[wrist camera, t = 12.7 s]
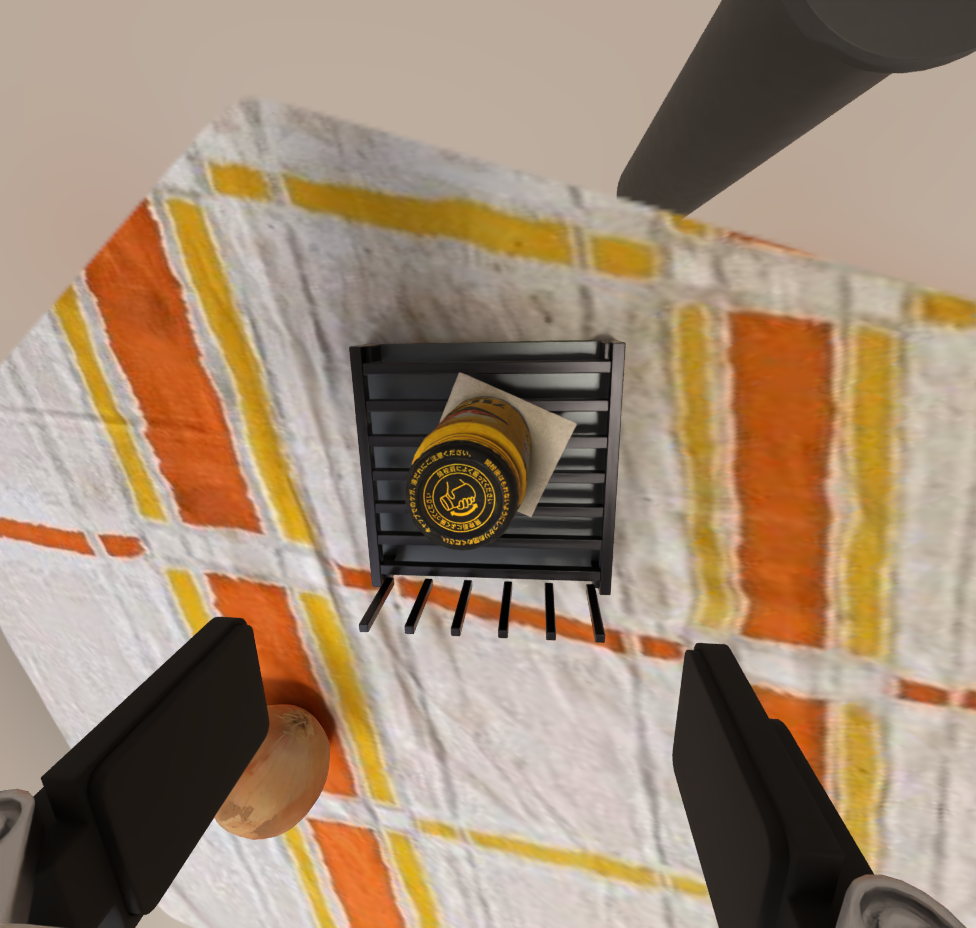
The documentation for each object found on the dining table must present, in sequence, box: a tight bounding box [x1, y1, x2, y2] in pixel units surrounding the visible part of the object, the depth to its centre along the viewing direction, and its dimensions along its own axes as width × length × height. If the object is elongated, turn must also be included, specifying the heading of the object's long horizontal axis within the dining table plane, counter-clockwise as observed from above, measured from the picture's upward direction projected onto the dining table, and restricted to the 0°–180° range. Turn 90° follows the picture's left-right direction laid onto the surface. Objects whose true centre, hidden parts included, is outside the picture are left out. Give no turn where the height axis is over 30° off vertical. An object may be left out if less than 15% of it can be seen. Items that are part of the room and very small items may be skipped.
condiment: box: [405, 372, 577, 551], centre depth 28 cm, size 7×8×12 cm
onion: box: [214, 704, 330, 840], centre depth 42 cm, size 10×10×10 cm
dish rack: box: [349, 340, 625, 643], centre depth 33 cm, size 18×18×9 cm
